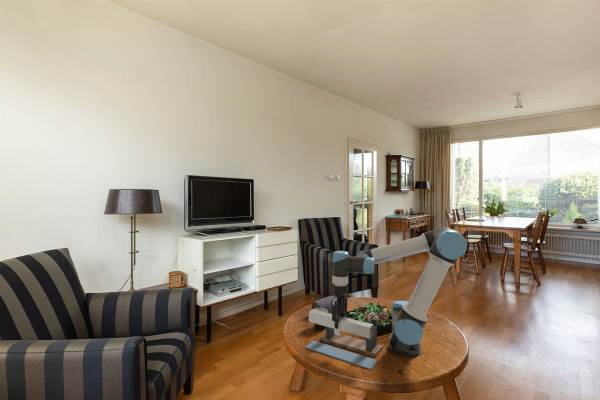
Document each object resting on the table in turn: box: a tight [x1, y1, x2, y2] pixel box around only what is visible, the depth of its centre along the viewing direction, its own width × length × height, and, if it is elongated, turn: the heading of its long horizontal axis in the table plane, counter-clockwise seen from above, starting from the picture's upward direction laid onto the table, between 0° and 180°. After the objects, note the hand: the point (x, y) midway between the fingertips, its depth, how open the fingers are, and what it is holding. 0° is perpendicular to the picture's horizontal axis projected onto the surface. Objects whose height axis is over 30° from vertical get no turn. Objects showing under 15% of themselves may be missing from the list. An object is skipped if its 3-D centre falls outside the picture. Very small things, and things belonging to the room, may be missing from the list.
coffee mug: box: [313, 308, 328, 332], centre depth 177 cm, size 12×9×10 cm
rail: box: [308, 309, 373, 339], centre depth 147 cm, size 32×4×5 cm, turn 56°
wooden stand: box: [319, 309, 384, 358], centre depth 157 cm, size 30×10×14 cm, turn 56°
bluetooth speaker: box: [310, 294, 339, 314], centre depth 199 cm, size 23×9×10 cm, turn 130°
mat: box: [304, 340, 378, 371], centre depth 147 cm, size 34×8×1 cm, turn 56°
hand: (339, 332), depth 147 cm, fingers closed on rail, 4 cm apart
